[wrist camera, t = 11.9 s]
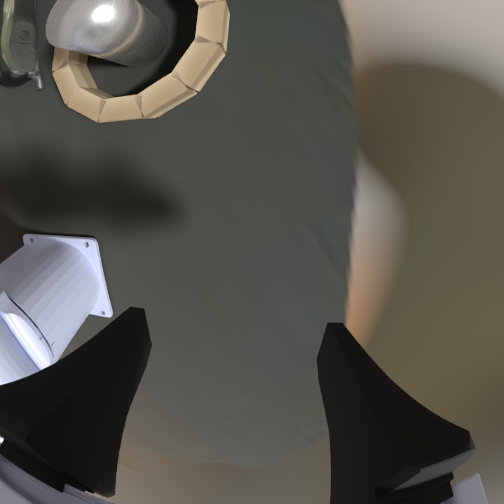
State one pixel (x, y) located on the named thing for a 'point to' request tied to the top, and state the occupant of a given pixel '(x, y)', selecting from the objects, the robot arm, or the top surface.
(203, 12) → the wooden ring
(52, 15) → the steel peg
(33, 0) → the mobile phone
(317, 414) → the top surface
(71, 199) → the top surface
